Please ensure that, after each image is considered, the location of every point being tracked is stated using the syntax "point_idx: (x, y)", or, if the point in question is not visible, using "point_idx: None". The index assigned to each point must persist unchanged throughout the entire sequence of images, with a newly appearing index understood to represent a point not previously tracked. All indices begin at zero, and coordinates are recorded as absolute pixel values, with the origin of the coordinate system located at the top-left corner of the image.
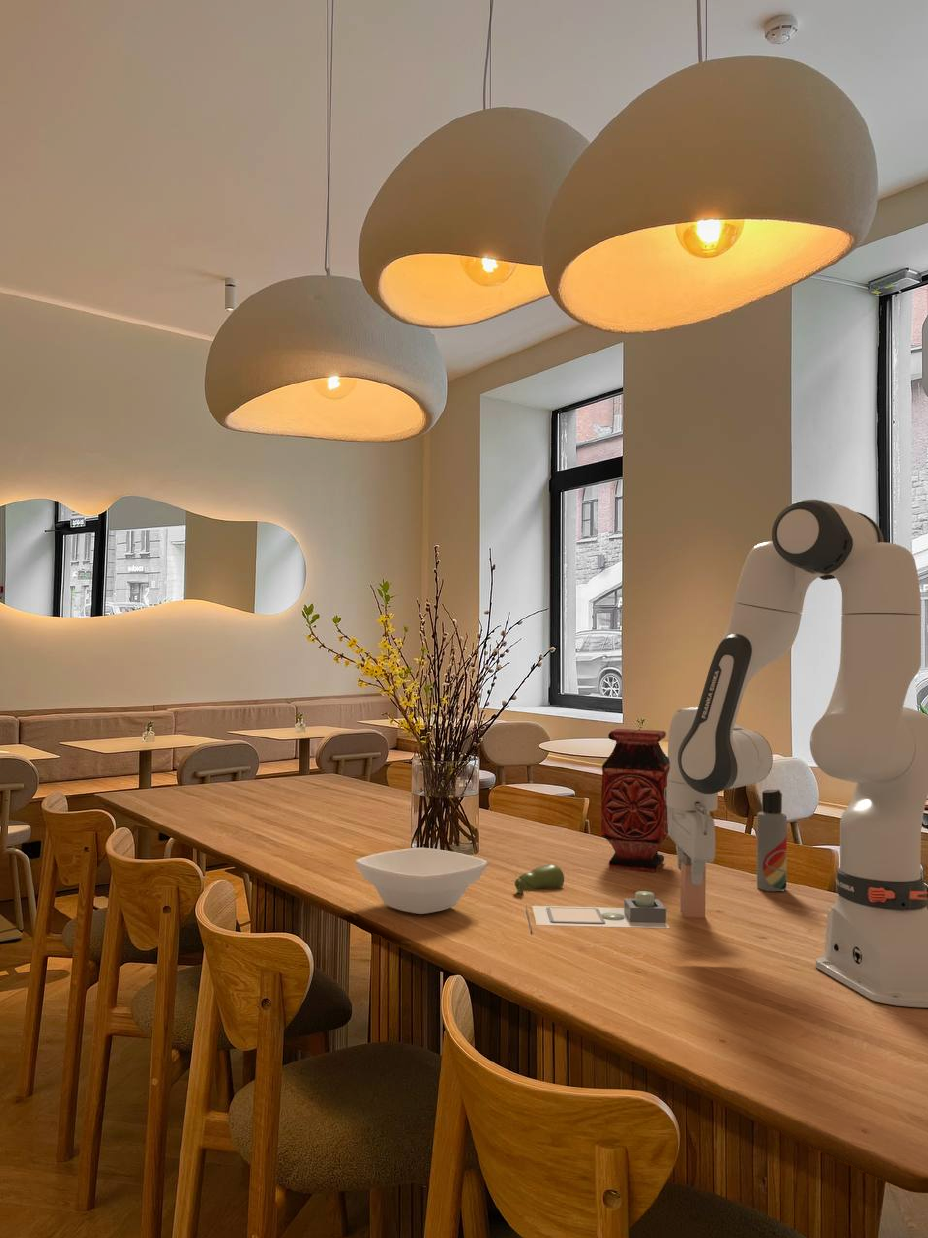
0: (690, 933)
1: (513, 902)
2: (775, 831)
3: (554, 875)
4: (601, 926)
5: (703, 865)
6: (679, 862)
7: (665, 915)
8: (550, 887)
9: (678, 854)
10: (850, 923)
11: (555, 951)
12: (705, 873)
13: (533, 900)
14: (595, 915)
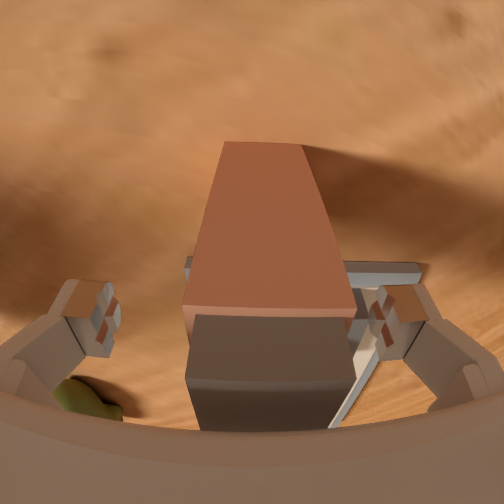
0: (393, 221)
1: (168, 423)
2: None
3: (88, 414)
4: (356, 382)
5: (491, 365)
6: (109, 348)
7: (365, 304)
8: (98, 400)
9: (65, 373)
10: None
11: (412, 401)
12: (344, 267)
13: (147, 409)
14: None
